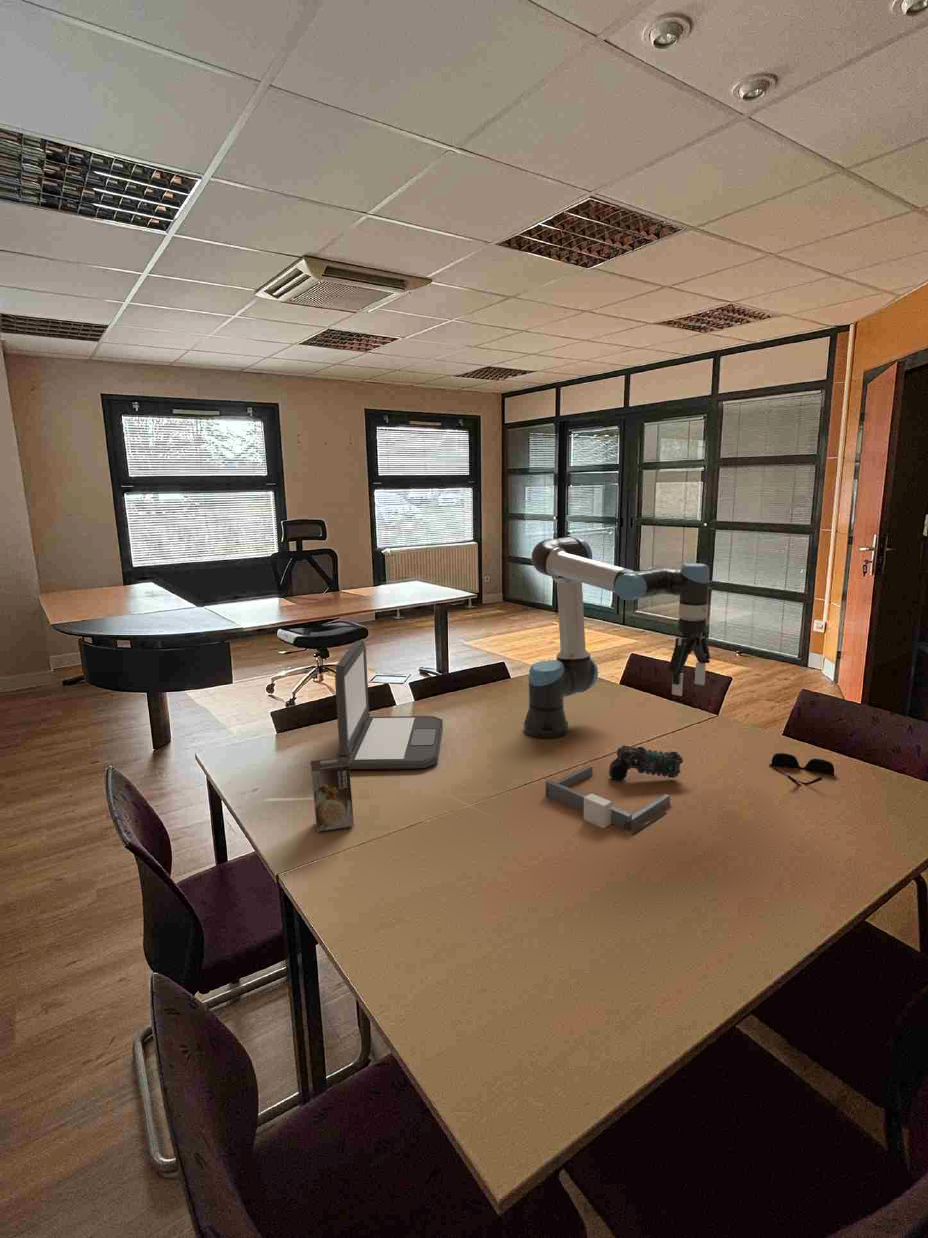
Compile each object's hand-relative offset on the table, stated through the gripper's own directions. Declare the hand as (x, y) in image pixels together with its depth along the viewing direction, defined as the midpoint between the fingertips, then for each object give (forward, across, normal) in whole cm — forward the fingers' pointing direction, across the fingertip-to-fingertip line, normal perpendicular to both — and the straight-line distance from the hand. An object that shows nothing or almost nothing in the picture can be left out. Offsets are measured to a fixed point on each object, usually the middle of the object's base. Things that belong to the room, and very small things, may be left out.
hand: (688, 689), depth 184 cm
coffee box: (+23, -94, +44) cm, 106 cm away
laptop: (+23, -54, +73) cm, 93 cm away
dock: (+22, -38, +3) cm, 44 cm away
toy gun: (+23, -20, +2) cm, 31 cm away
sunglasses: (+23, +10, -29) cm, 38 cm away
